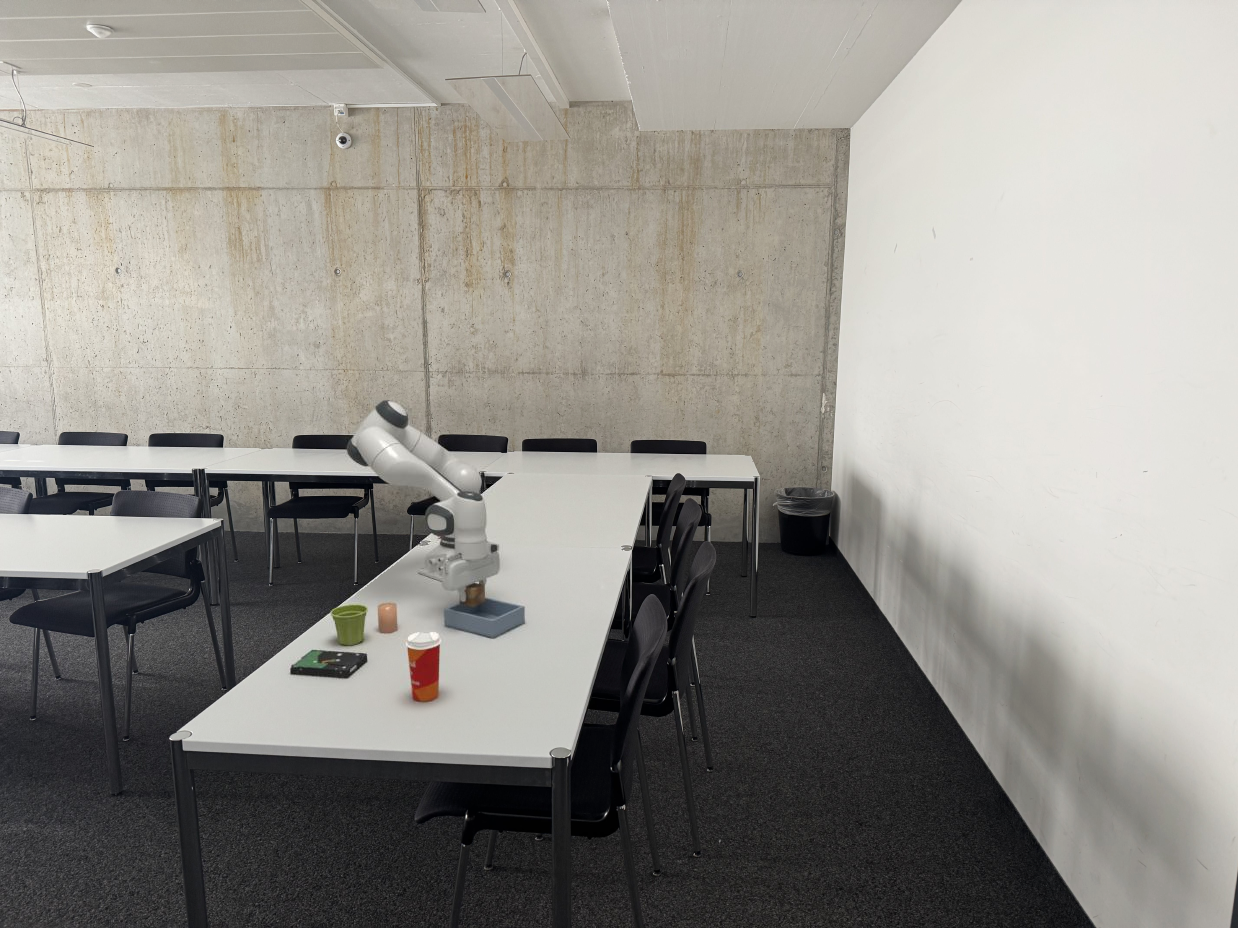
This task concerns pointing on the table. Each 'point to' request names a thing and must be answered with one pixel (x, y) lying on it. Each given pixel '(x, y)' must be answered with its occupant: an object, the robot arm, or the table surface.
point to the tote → (485, 618)
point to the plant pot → (349, 623)
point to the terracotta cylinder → (387, 618)
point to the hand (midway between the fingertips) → (472, 597)
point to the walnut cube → (474, 595)
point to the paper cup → (424, 665)
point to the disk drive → (329, 664)
